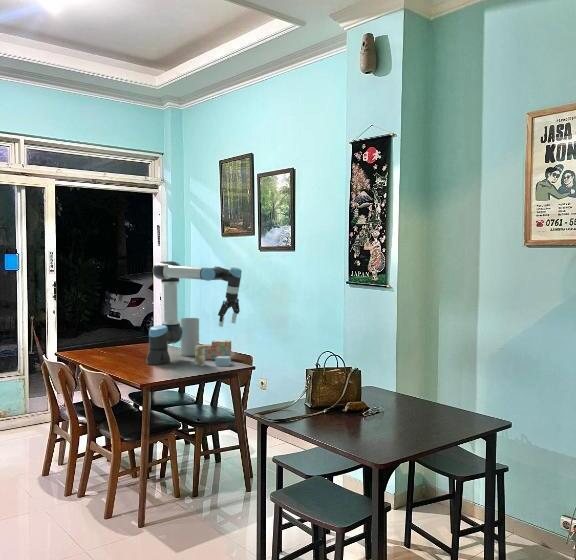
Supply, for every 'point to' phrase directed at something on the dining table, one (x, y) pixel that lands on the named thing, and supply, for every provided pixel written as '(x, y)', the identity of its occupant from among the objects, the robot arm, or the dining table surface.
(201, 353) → the pillar
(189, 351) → the cylinder vase
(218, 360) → the base block
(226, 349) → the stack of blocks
